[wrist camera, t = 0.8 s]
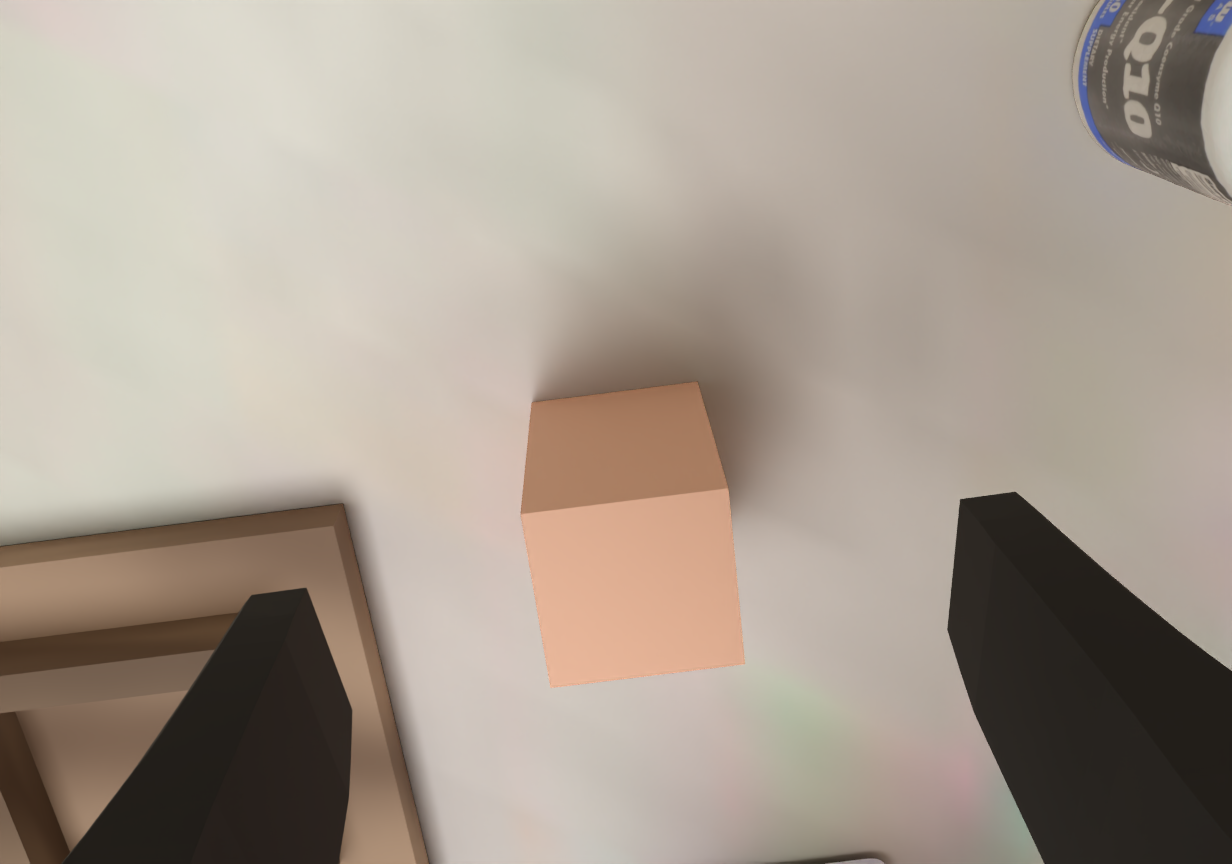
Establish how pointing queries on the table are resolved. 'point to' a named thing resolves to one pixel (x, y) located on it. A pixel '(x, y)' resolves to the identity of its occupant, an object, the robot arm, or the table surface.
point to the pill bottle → (1161, 88)
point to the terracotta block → (630, 536)
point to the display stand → (172, 667)
